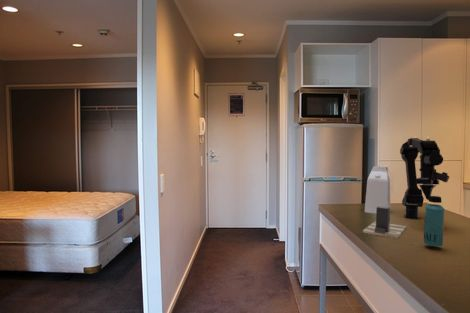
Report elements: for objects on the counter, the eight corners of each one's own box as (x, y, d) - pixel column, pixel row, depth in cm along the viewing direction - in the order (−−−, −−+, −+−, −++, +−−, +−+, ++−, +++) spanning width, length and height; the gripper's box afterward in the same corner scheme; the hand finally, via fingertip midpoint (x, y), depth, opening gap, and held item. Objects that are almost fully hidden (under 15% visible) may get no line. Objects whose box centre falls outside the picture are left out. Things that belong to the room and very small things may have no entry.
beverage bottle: (440, 246, 126) (442, 195, 125) (445, 251, 120) (447, 198, 118) (421, 244, 128) (423, 194, 127) (425, 249, 122) (427, 197, 121)
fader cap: (377, 228, 146) (378, 206, 145) (389, 230, 143) (390, 207, 142) (375, 230, 143) (376, 207, 142) (387, 231, 140) (388, 208, 139)
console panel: (374, 223, 159) (374, 217, 159) (406, 228, 151) (406, 222, 150) (362, 232, 143) (362, 225, 143) (397, 238, 135) (397, 231, 135)
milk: (390, 211, 187) (392, 166, 186) (387, 214, 178) (389, 167, 176) (368, 208, 194) (369, 165, 192) (364, 212, 184) (366, 166, 183)
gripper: (443, 165, 141) (444, 201, 140) (451, 167, 155) (452, 200, 153) (414, 165, 148) (415, 200, 147) (424, 167, 162) (425, 199, 161)
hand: (428, 199), depth 152 cm, fingers closed
